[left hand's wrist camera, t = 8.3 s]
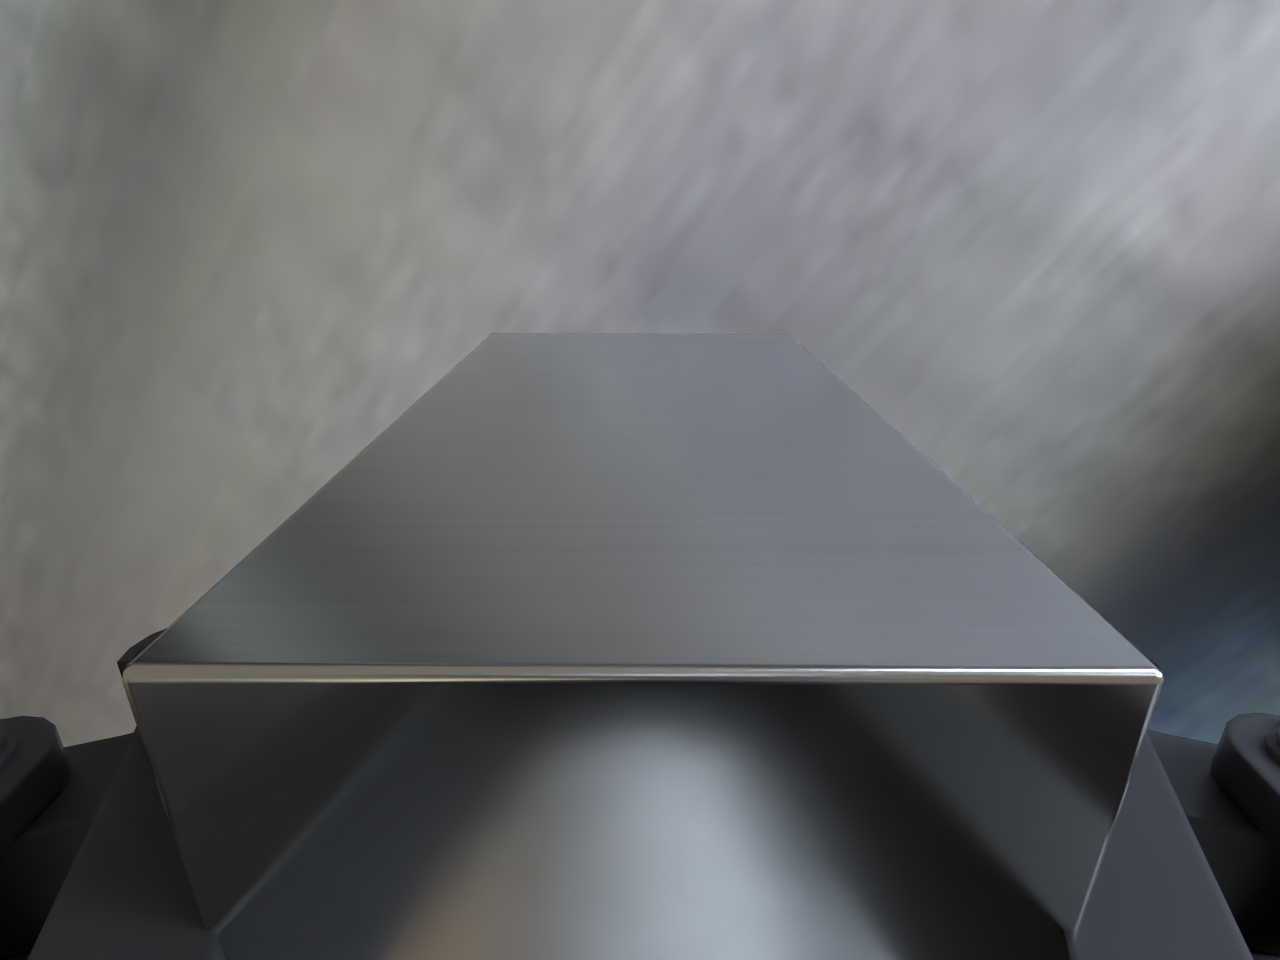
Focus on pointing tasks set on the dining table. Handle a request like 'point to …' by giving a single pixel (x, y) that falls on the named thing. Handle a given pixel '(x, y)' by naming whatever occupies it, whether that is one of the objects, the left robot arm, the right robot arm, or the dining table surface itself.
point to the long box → (641, 685)
